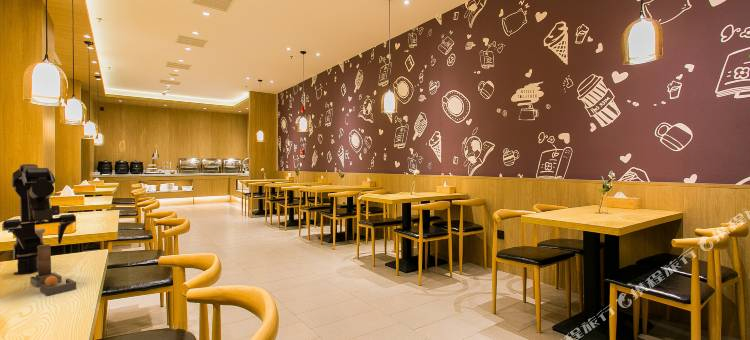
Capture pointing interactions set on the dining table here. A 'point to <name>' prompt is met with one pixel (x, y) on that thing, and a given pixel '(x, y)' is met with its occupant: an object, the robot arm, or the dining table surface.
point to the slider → (44, 263)
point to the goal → (58, 288)
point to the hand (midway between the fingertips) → (42, 246)
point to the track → (36, 283)
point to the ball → (51, 281)
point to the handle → (40, 232)
